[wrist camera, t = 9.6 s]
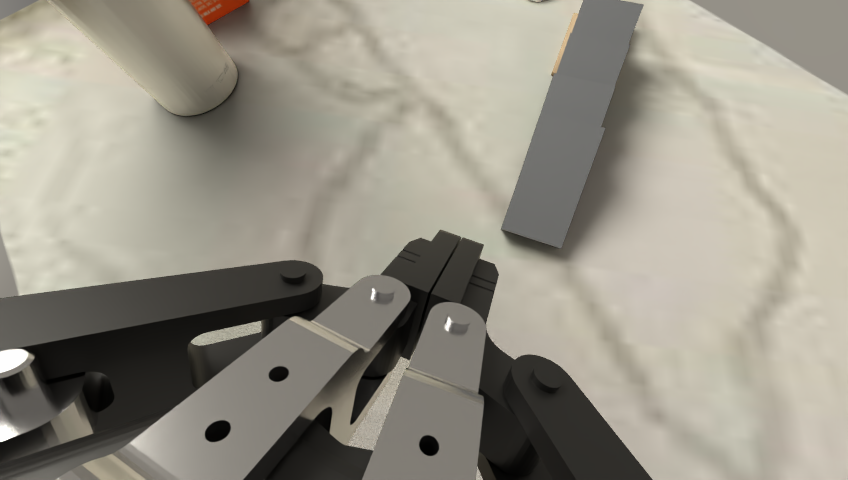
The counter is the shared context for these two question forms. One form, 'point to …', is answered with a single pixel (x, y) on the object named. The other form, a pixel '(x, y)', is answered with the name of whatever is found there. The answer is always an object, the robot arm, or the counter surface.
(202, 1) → the cereal box
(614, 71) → the domino
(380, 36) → the counter surface
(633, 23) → the domino
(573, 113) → the domino
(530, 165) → the domino
